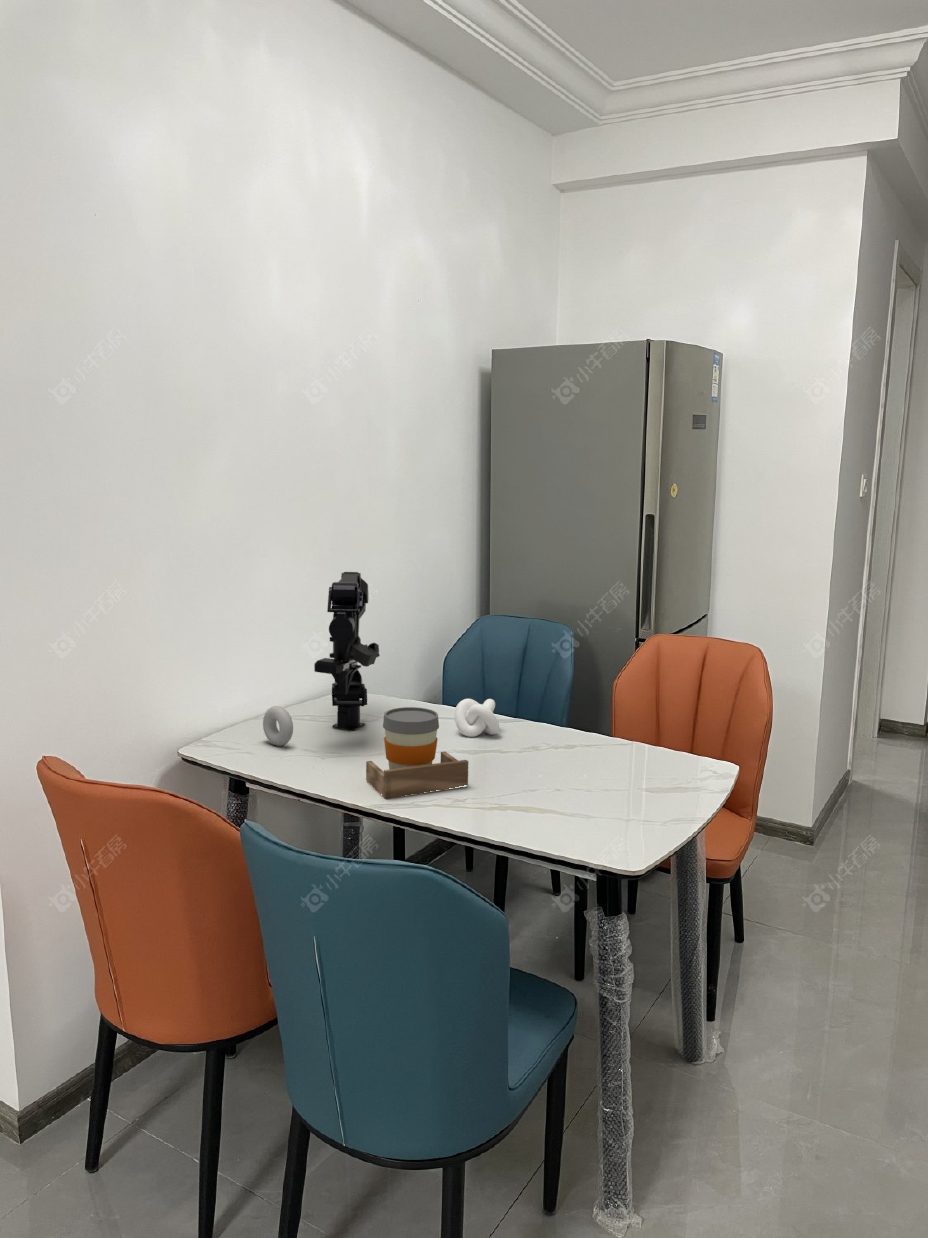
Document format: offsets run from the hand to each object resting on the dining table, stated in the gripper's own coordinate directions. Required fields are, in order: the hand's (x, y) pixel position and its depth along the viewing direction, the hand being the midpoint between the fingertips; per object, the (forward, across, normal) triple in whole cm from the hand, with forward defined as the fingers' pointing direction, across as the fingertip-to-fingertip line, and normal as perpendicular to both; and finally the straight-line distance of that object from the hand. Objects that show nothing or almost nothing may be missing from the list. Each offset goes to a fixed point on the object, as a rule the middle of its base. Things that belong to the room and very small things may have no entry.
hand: (344, 694), depth 236 cm
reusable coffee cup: (+13, -16, -27) cm, 34 cm away
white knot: (+13, +23, -26) cm, 37 cm away
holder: (+13, -18, -30) cm, 37 cm away
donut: (+13, -10, +13) cm, 21 cm away
